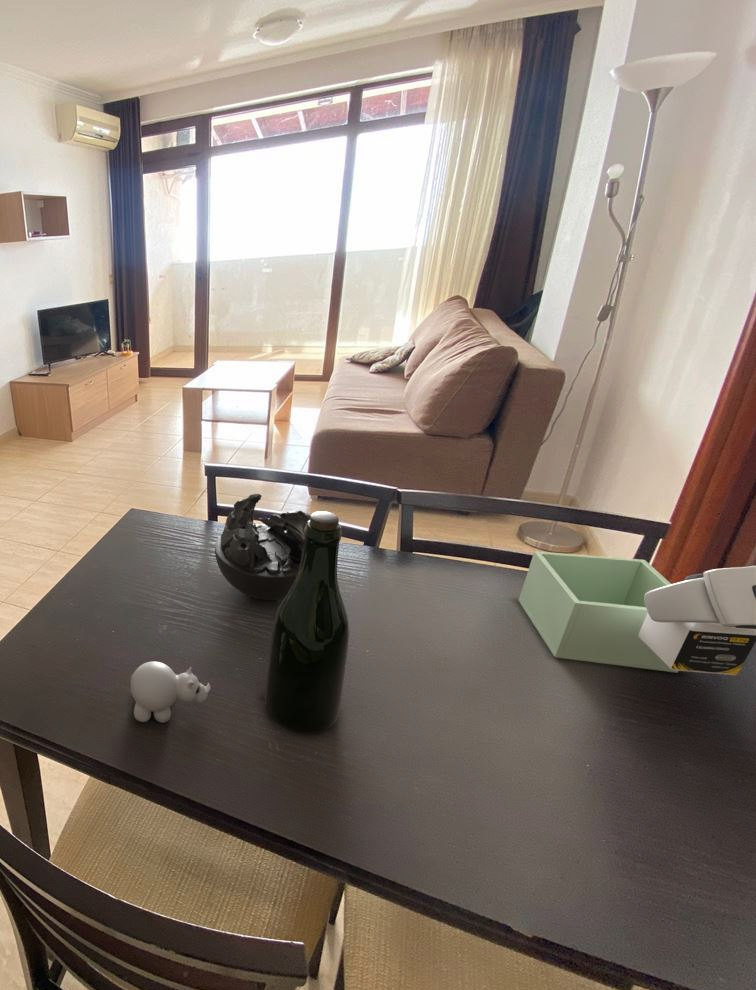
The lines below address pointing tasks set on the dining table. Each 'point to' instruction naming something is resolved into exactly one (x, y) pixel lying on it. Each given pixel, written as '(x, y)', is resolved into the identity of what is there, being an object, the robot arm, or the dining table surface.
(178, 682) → the chubby cartoon animal
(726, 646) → the medicine bottle
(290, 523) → the coal bowl
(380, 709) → the dining table surface
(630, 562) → the open storage box
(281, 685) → the beer bottle
